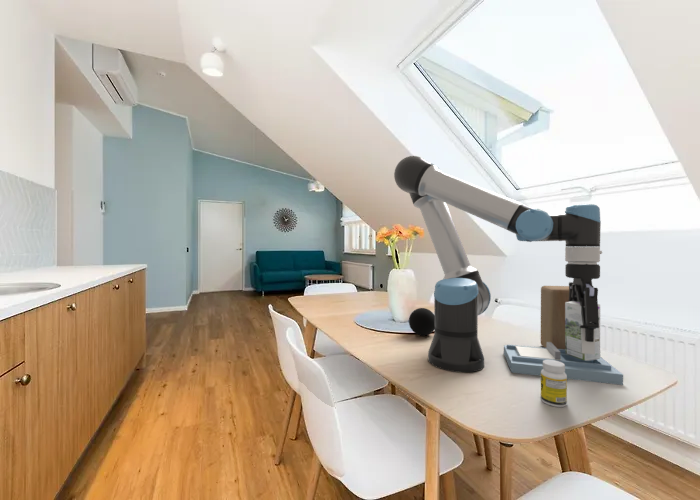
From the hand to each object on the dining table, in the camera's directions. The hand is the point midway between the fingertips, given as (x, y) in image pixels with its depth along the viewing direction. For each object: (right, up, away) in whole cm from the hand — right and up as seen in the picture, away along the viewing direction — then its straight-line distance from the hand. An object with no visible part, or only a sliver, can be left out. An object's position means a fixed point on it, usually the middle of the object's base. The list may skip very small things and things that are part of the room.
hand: (581, 348), depth 87 cm
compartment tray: (-6, -6, +2) cm, 8 cm away
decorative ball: (-35, -6, +34) cm, 49 cm away
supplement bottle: (-19, -6, -18) cm, 27 cm away
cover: (-10, -3, +3) cm, 11 cm away
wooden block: (+5, -6, +16) cm, 18 cm away
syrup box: (0, -2, 0) cm, 2 cm away
